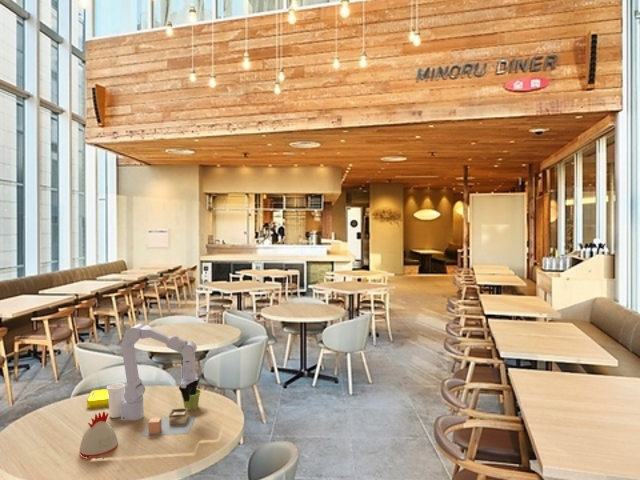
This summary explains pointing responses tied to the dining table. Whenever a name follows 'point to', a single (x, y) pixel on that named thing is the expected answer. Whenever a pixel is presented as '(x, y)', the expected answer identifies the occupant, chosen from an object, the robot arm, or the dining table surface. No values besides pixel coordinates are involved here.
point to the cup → (115, 398)
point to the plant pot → (192, 401)
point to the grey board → (172, 427)
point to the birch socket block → (178, 416)
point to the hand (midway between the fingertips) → (189, 397)
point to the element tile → (98, 399)
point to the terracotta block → (154, 425)
